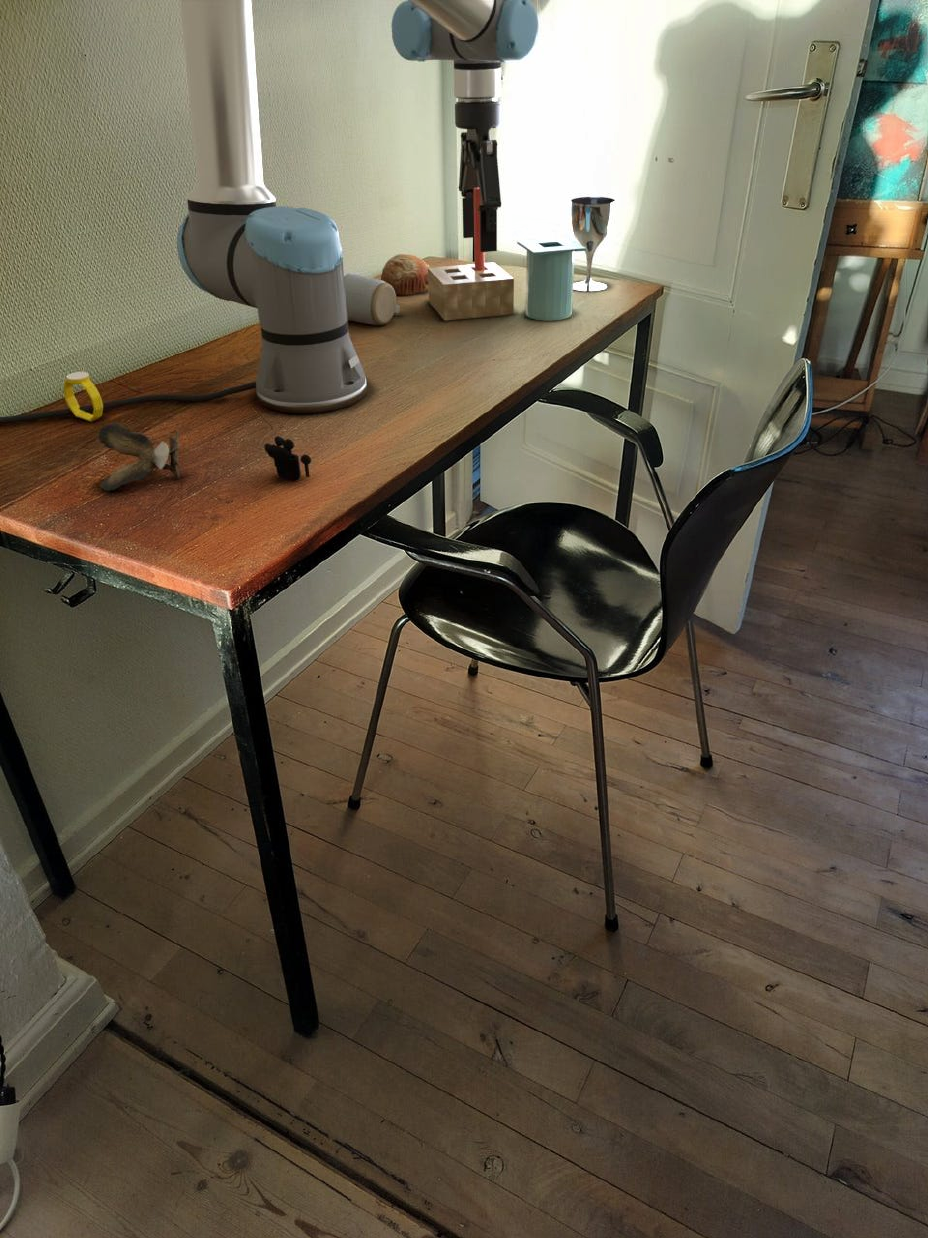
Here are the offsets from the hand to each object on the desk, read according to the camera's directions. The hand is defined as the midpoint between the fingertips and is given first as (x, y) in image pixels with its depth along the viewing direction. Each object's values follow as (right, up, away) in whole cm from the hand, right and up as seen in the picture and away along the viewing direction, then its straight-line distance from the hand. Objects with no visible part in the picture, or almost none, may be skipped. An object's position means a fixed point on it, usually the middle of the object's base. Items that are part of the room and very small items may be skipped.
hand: (479, 243), depth 157 cm
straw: (0, -8, +6) cm, 10 cm away
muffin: (-14, -2, +15) cm, 21 cm away
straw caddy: (-2, -10, +3) cm, 11 cm away
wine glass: (+21, -3, +14) cm, 25 cm away
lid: (+12, -3, -7) cm, 14 cm away
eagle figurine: (-40, -50, -53) cm, 83 cm away
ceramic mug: (-19, -14, -2) cm, 23 cm away
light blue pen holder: (+12, -13, -1) cm, 17 cm away
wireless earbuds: (-23, -50, -54) cm, 77 cm away
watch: (-53, -39, -37) cm, 75 cm away
